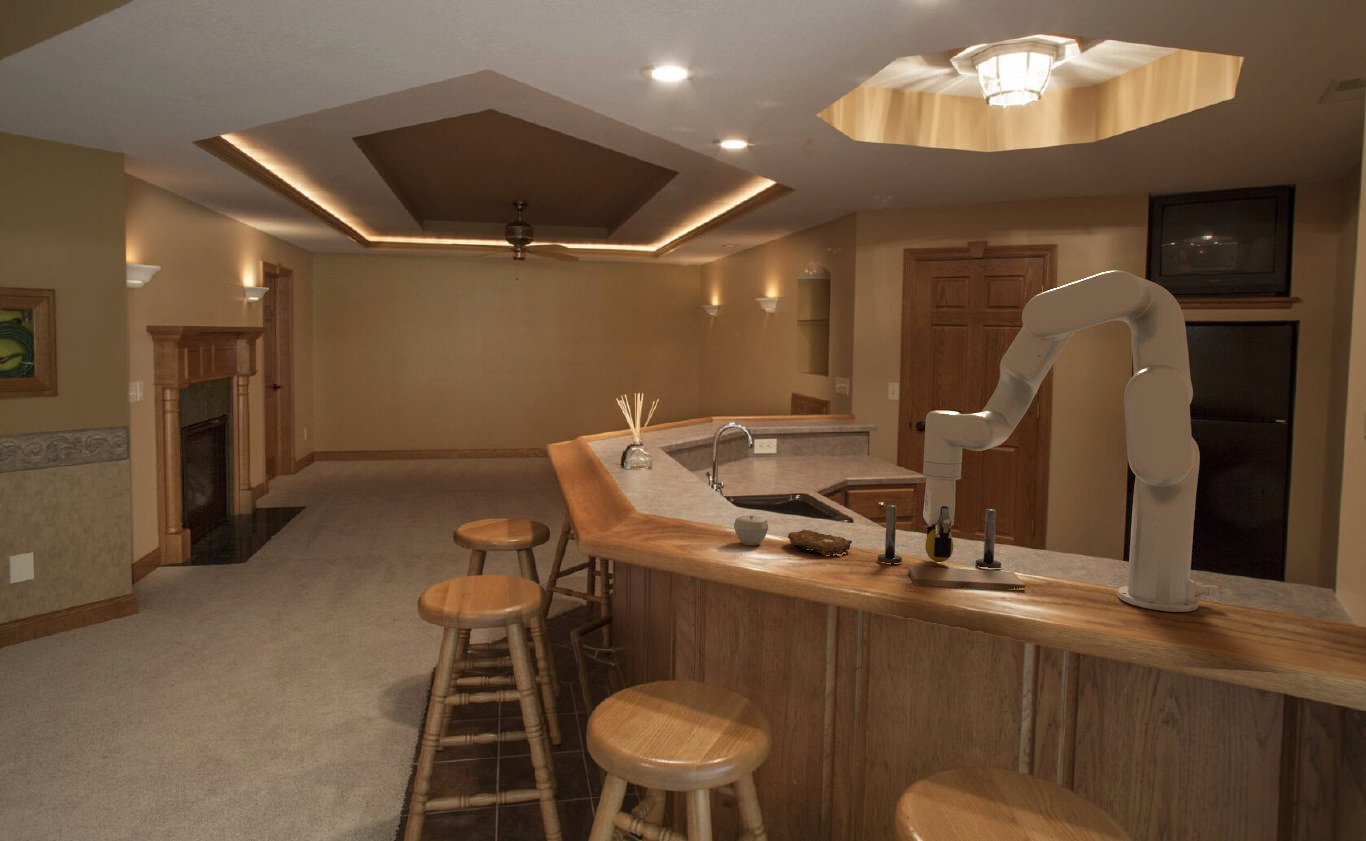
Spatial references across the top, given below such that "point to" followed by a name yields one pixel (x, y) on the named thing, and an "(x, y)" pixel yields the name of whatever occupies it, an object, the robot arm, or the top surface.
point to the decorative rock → (819, 542)
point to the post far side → (890, 537)
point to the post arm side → (989, 542)
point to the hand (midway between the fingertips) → (938, 551)
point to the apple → (751, 529)
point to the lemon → (930, 547)
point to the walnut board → (965, 578)
